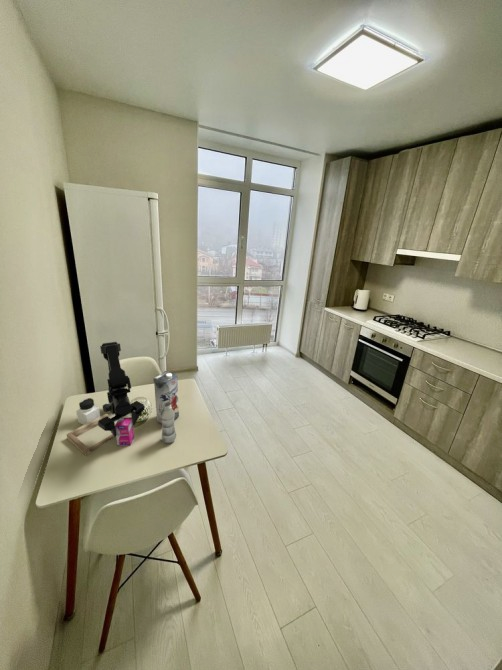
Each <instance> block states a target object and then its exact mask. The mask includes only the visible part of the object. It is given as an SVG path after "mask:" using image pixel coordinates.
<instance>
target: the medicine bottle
mask: <svg viewBox="0 0 502 670" xmlns="http://www.w3.org/2000/svg"><path fill="white" fill-rule="evenodd" d="M78 405H79V408H78V409H77V410H76V417H77V422H78V423H79V424H81V425H82V426H83V425H85V424H87V423H89V422H91V421H93V420H95V419H97V418H99V417H101V411H100V407H99V406H97V405H95V400H94V399H93V398H92V397H91V398H90V397H88V398H84V399H81V400H80V401H79V403H78Z"/></svg>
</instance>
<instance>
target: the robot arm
mask: <svg viewBox="0 0 502 670" xmlns="http://www.w3.org/2000/svg"><path fill="white" fill-rule="evenodd" d="M99 348H100V353H101V354H102V355H103V359H104V360H106V361H107V365H108V366H107V369H108V378H107V381H106V382H107V386H108V387H107V391H108V392H106V395H107V401H108V403H105V404H103V405H102V410H103V412H104V413H108V412H109V413H110V412H111V414H112V415H114V416H112V417H110V416H109V415H108V416H107V417H105V418H103V419H101V420H99V421H98V427H99V428H101V429H102V430H103V431H105V432H107V431H109V432H110V433H111V435H112V434H113V436H115V438H116V427H115V424H116V423H117V421H118V420H119V419H121V418H126V417H127V415H130V414H131V418H132V422H133V426H136V424H137V422H138V419H139V417H140V416H141V414H142V413H143V411H145V405H144V404H143V402H140V401H139V400H136V401H134V402H132V403H131V401H130V398H129V396H128V394H129V393H131V389H132V384H131V379H130V377H129V376H128V375H126V371H125V369H123V368H121V363H120V359H119V356H120V352H121V351H122V349H121V348H122V347H121V343H118V342H117V341H111V342H103V343H102V344H101V345H100V347H99ZM126 387H127V388H126Z"/></svg>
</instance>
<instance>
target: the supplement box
mask: <svg viewBox="0 0 502 670" xmlns="http://www.w3.org/2000/svg"><path fill="white" fill-rule="evenodd" d="M115 427H116V437H115V439H116V444H117V445H116V446H118V447H119V446H122V447H123V446H125V447H126V446H129V447H130V446H131V444H132V443H133V440H134V438H135V432H134V431H135V430H134V425H133V422H132V417H123V418H121V419H119V420H117V421H116V422H115Z"/></svg>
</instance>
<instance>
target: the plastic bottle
mask: <svg viewBox="0 0 502 670" xmlns="http://www.w3.org/2000/svg"><path fill="white" fill-rule="evenodd" d="M162 409H163V410H162V411H161V413H160V419H161V423H160V424H161V435H160V436H161V441H162V442H163V443H164V444H172V443H174V442H175V440H176V439H177V432H176V430H175V429H176V428H175V420H174V417H175V412H174V410H173V409H172V408H171V403H170V402H165V403H163V407H162Z"/></svg>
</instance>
